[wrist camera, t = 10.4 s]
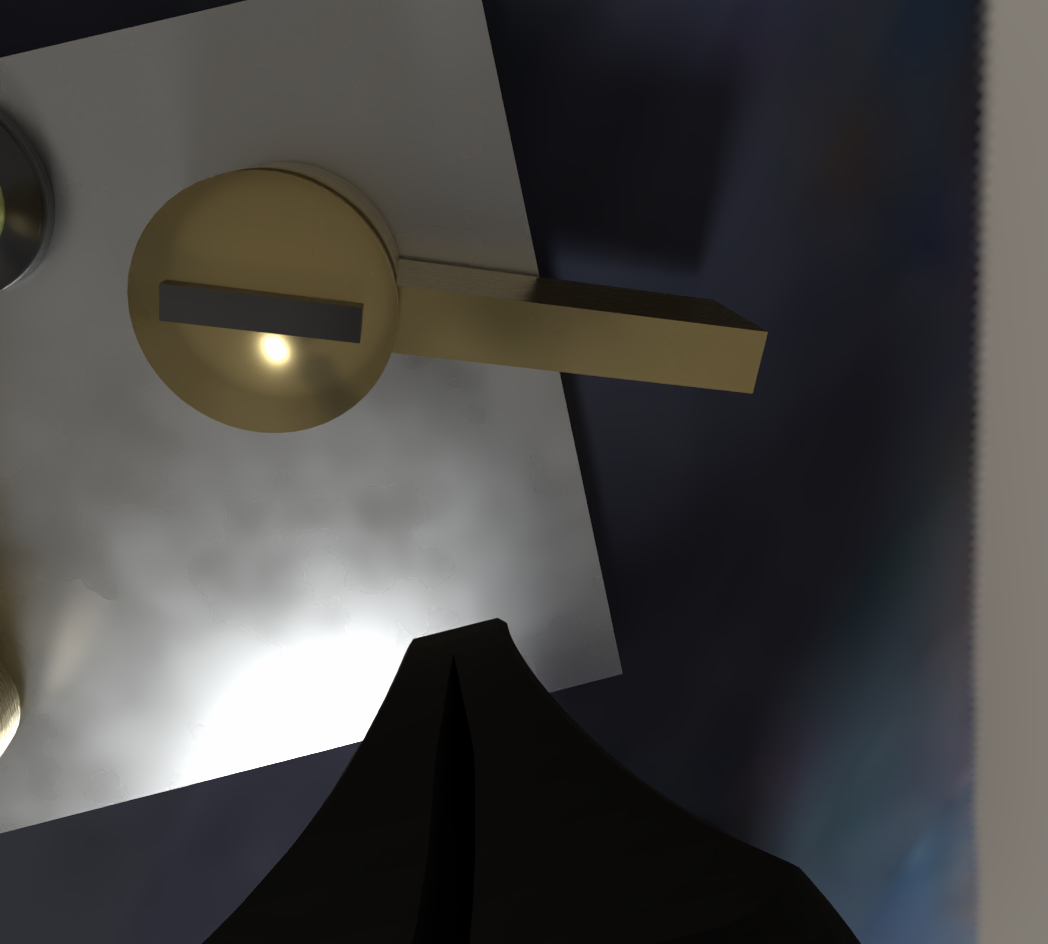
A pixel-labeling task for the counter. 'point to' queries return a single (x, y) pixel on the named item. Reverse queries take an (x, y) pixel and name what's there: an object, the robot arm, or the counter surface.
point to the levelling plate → (246, 456)
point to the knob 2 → (377, 307)
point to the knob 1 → (8, 709)
